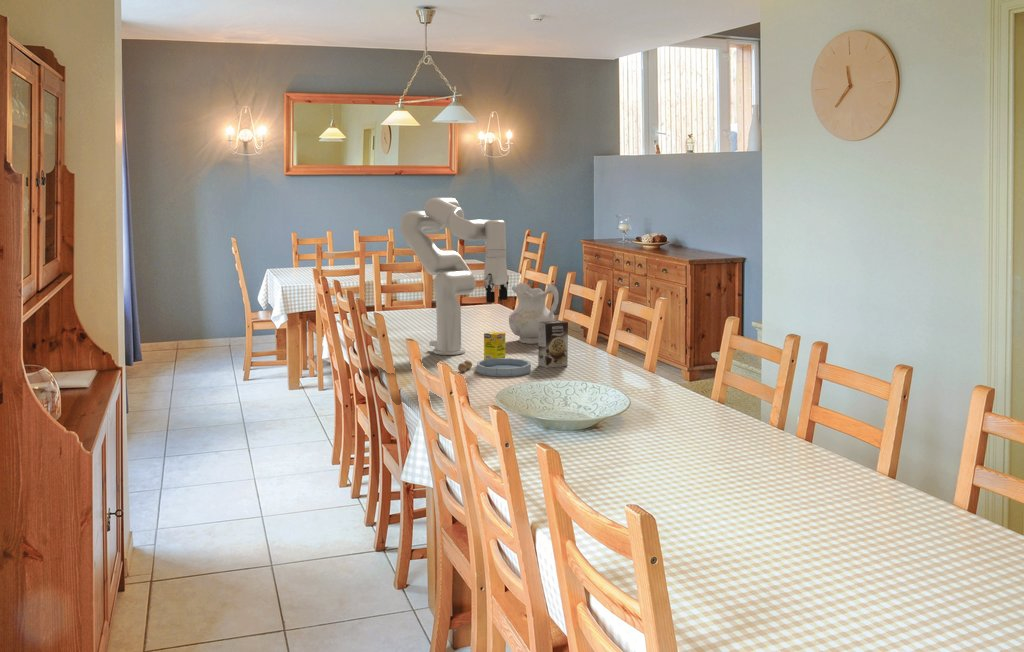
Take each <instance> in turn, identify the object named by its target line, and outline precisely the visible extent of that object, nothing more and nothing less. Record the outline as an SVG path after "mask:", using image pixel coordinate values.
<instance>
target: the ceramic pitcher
mask: <svg viewBox="0 0 1024 652" xmlns="http://www.w3.org/2000/svg"><path fill="white" fill-rule="evenodd" d="M511 290H512V292H513V293H515V294H516V297H517V300H518V303H517V306H516V308H514V310H513V311H512V312H510V314H509V316H508V325H509V327H510V330H511V332H512V334H514V336H517V337H518V338H519V339H518V342H519V343H522V344H525V343H526V344H525V345H529V344H539V322H543V321H556V320H555V314H554V313H555V312H556V310H557V307H558V306H559V305H558V304H559V299H560V298H559V292H558V288H557V286H556V285H555V284H554V283H549V284H547V288H546V290H545V291H544V290H543V289H541V288H539V287H538V288H537V287H534V288H532V287H531V286H530V284H528V283H523V282H519V283H517V284H516V285H513V286H512V287H511ZM549 294H552V295H553V302H552V304H551V306H550V310H549V308H547V305H546V298H547V296H548V295H549Z"/></svg>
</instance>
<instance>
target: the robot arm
mask: <svg viewBox="0 0 1024 652" xmlns="http://www.w3.org/2000/svg"><path fill="white" fill-rule="evenodd" d="M445 227H447V229H448V231H449V232H450V233H451V234H452V236H454V237H457V238H459V239H460V240H463V241H467V242H472V241H473V242H474V241H484V242H485V243H484V245H485V247H484V248H485V260H484V269H483V270H484V271H483V285H484V288H485V290H484V291H485V294H486V295H485V297H486V301H485V302H486V303H488V304H489V303H490V304H493V303H495V302H496V297H495V296H496V295H495V287H499V289H498V300H501V301H507V300H508V288H509V286H508V285H509V278H510V276H509V274H508V267H507V266H508V265H507V238H506V236H507V233H506V231H507V230H506V222H505V221H504V220H503V219H495V220H493V219H492V220H491V219H470V220H469V219H465V212H464V210H463V209H462V208H461V206H460V204H459V201H457V200H456V198H453V197H432V198H429V199H427V201H426V202H425V204H424V207H423V210H412V211H408V212H406V213H404V215H403V216H402V217H401V219H400V231H401V235H402V237H403V239H404V241H405V242H406V244H407V245H408V246H409V247H410V248H411V250H412V251H413V252H414V254H415V255H416V257H417V259H418V260H419V262H420V263H421V264H422V266H423V268H424V269H425V270H426V272H427V273H428V274H429V275H431V276H435V277H434V278H433V281H432V282H433V283H432V286H433V292H434V296H435V297H434V298H435V310H436V312H435V313H436V340H430V341H429V344H428V345H429V346H430V347H434V348H433V350H432V353H433V354H435V355H438V356H439V355H441V356H456V355H463V354H465V353H466V348H464V347H462V307H461V304H460V301H459V300H458V297H457V296H463V295H469V294H471V293H472V292H474V290H475V289H476V285H477V282H476V278H475V276H474V273H473V272H472V270H471V269H470V268H469V266H468V265H467V263H466V261H465V260H464V258H463V257H462V255H461V254H459V253H458V252H457V251H455V250H451V249H447V250H442V249H439V248H438V246H436V243H435V242H434V241H433V239H432V238H430V237H429V236H428V235H426V234H424V233H430V232H438V231H441V230H442V229H444V228H445Z"/></svg>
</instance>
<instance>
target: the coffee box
mask: <svg viewBox="0 0 1024 652" xmlns="http://www.w3.org/2000/svg"><path fill="white" fill-rule="evenodd" d="M537 348H538V351H537V352H538V353H537V354H538V355H537V356H538V360H537V363H538V365H537V366H541V367H543V368H545V369H549V368H550V369H551V368H557V367H561V368H562V367H567V366H568V359H569V358H568V357H569V355H568V354H569V352H568V351H569V349H568V348H569V322H568V321H565V320H559V319H558V320H555V321H543V322H539V343H538V347H537Z"/></svg>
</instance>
